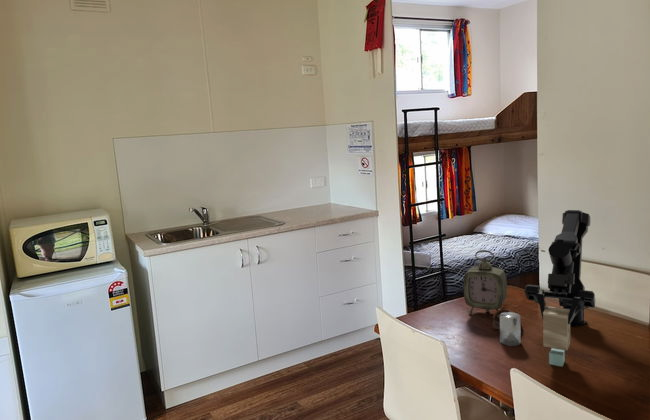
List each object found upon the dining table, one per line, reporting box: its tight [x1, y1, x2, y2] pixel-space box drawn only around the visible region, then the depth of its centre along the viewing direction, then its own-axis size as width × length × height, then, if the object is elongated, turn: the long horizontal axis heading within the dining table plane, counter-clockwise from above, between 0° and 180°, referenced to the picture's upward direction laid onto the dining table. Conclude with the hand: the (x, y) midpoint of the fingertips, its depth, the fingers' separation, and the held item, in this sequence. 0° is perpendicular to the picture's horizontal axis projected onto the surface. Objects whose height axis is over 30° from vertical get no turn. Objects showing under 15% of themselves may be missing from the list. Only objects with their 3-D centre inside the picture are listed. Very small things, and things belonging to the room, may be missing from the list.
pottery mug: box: [492, 306, 524, 331], centre depth 174 cm, size 12×10×8 cm
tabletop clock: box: [462, 249, 508, 319], centre depth 187 cm, size 14×9×25 cm, turn 58°
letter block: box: [548, 348, 566, 368], centre depth 147 cm, size 4×4×4 cm
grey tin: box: [499, 311, 522, 347], centre depth 163 cm, size 6×6×9 cm
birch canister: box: [542, 305, 571, 351], centre depth 145 cm, size 6×6×10 cm
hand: (555, 322), depth 144 cm, fingers closed on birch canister, 6 cm apart
